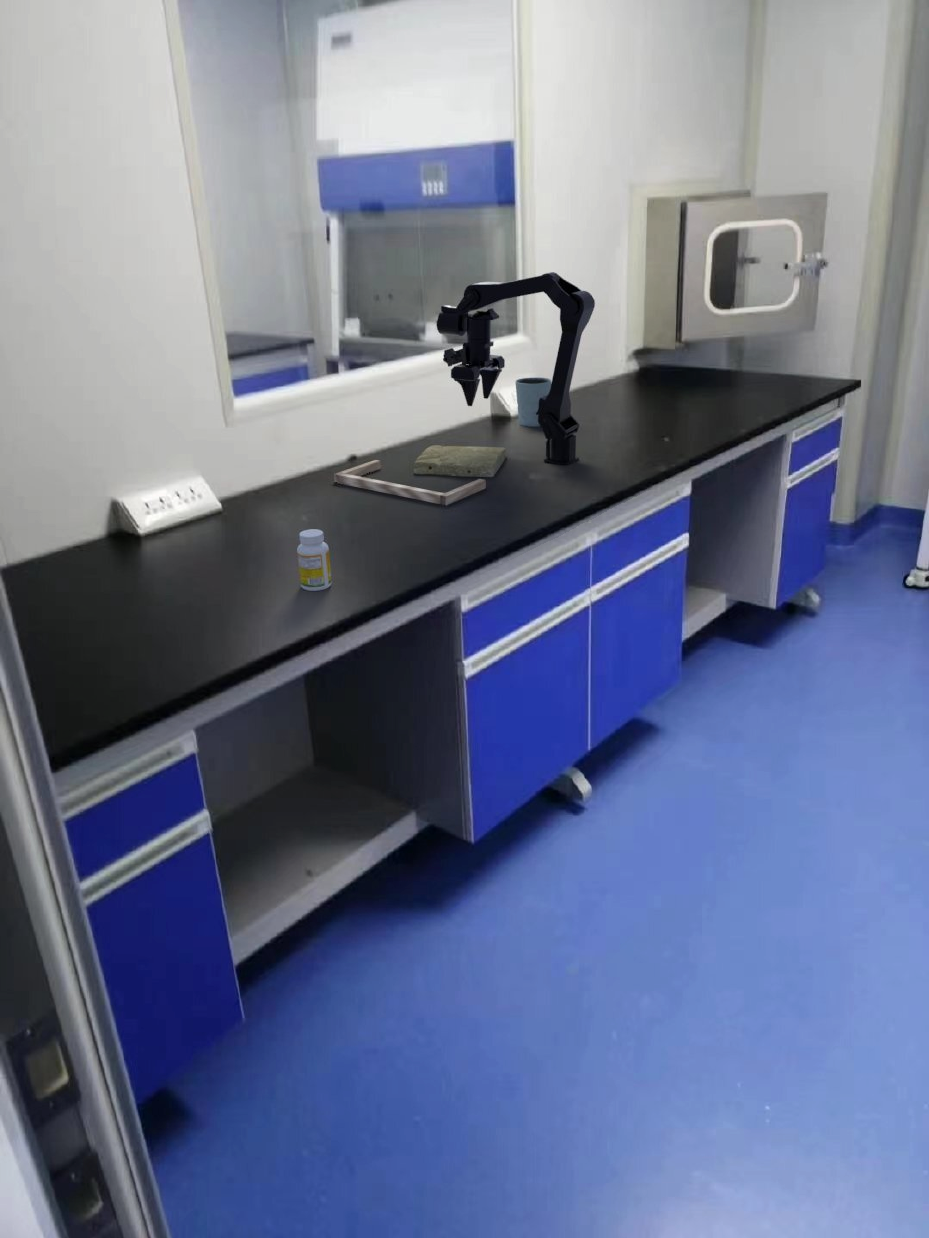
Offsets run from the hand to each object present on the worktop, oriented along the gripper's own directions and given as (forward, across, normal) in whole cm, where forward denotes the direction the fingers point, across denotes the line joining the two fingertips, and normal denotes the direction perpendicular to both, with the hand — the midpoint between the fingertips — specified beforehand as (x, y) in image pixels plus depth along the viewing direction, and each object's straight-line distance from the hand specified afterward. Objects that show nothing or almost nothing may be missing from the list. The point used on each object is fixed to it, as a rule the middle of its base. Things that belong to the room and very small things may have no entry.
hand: (478, 402), depth 233 cm
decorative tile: (+13, +13, +2) cm, 19 cm away
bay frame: (+13, +32, -2) cm, 34 cm away
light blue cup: (+13, -34, +1) cm, 36 cm away
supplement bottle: (+12, +90, +12) cm, 91 cm away
